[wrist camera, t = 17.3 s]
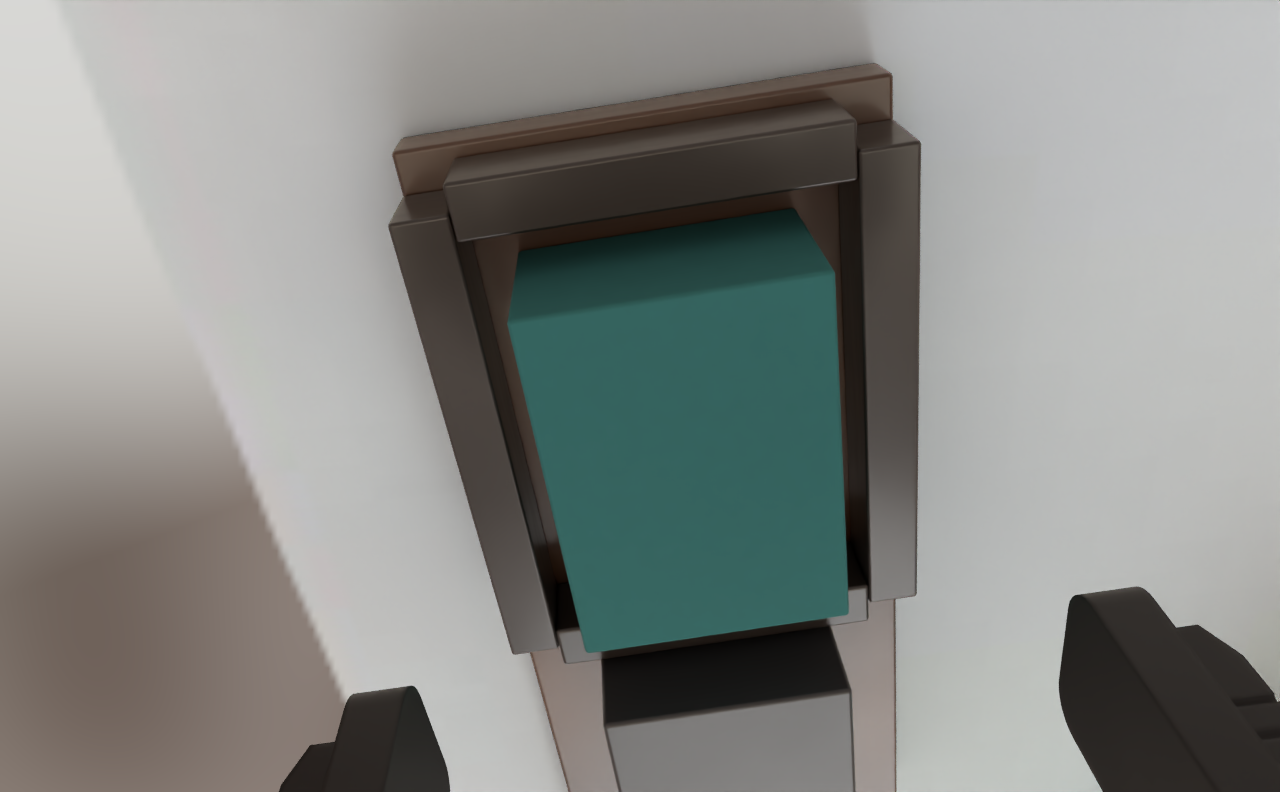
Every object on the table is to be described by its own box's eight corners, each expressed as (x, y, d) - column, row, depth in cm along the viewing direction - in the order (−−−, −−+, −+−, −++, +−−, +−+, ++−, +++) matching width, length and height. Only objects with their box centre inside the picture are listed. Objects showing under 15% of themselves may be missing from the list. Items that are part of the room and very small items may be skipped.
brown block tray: (400, 136, 16) (352, 210, 13) (877, 61, 16) (957, 114, 13) (583, 815, 26) (584, 961, 22) (886, 771, 26) (934, 913, 22)
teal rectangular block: (517, 250, 17) (506, 321, 14) (795, 206, 16) (835, 270, 14) (584, 553, 20) (585, 655, 17) (814, 518, 20) (850, 616, 17)
